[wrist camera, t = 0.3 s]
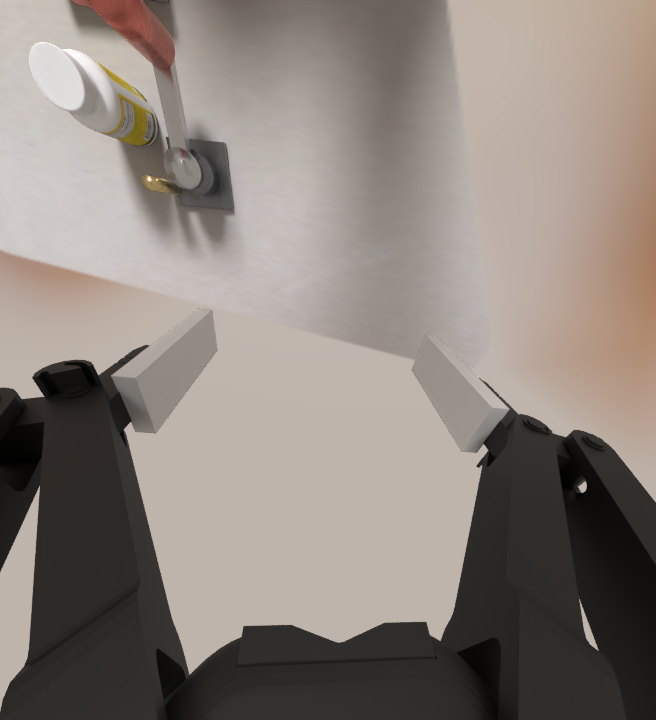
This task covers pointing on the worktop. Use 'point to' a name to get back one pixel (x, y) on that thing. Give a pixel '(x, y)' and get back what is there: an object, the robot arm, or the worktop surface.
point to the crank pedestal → (215, 178)
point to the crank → (149, 36)
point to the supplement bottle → (93, 94)
